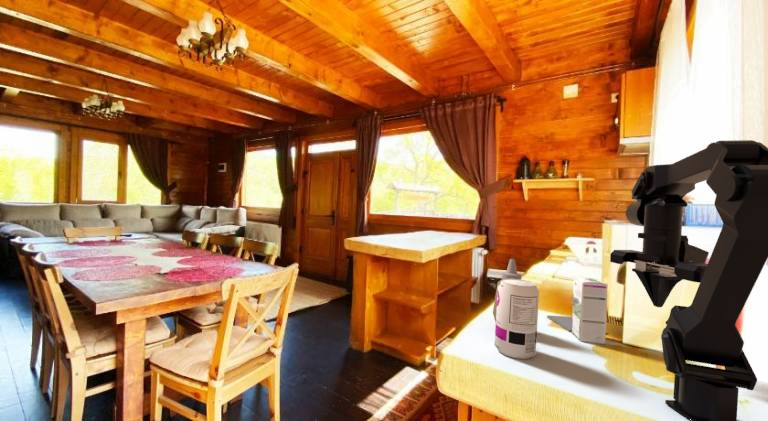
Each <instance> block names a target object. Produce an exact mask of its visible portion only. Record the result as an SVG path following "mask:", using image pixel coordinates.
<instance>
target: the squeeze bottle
mask: <svg viewBox="0 0 768 421" xmlns="http://www.w3.org/2000/svg"><path fill="white" fill-rule="evenodd" d="M517 271H518V270H517V265H516V259H514V258H510V259H509V261H508V265H507V269H506V271H502V272H501V279H500V280H499V281H497V284H496V290H495V295H494V296H495V297H494V303H493V310H492V315H493V318H494V321H495V324H496V310H497V293H498V286H499V284H500V283H501V280H502V279H520V280H522V274H521V273H518V272H517Z"/></svg>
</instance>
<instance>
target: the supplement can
mask: <svg viewBox="0 0 768 421" xmlns="http://www.w3.org/2000/svg"><path fill="white" fill-rule="evenodd" d="M500 280H501V283H500V284H499V286H498V293H497V310H496V323H495V329H494V330H495V331H494V347H495V348H496V349H497V351H498V352H499V353H501V355H505V356H506V357H509V358H512V359H519V360H527V359H531V358H532V357H534V356H535V355H536V352H537V337H538V336H537V335H538V319H539V318H538V316H539V300H540V299H539V298H540V291H539V289H538V287H537V283H535V282H532V281H529V280H525V279H521V280H520V279H502V278H501V279H500Z"/></svg>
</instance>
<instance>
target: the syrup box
mask: <svg viewBox="0 0 768 421" xmlns="http://www.w3.org/2000/svg"><path fill="white" fill-rule="evenodd" d="M608 287H609V286H608V283H606V282H603V281H602V280H599V279H596V278H591V277H589V278H588V277H573V291H572V292H573V293H572V313H571V315H572V316H571V317H572V332H571V334H572V335H573V336H575V338H577V340H579V341H580V342H584V343H590V344H600V345H605V344H606V336H607V335H606V331H607V310H608V307H607V306H608Z"/></svg>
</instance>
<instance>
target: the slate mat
mask: <svg viewBox="0 0 768 421" xmlns="http://www.w3.org/2000/svg"><path fill="white" fill-rule="evenodd" d="M546 318H547V319H549V320H550V321H551V322H554V323H555V324H556V325H558V326H559V327H561V328H563V329H564V330H566V331H567V332H569V333H572V316H566V315H564V316H563V315H546Z"/></svg>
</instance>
